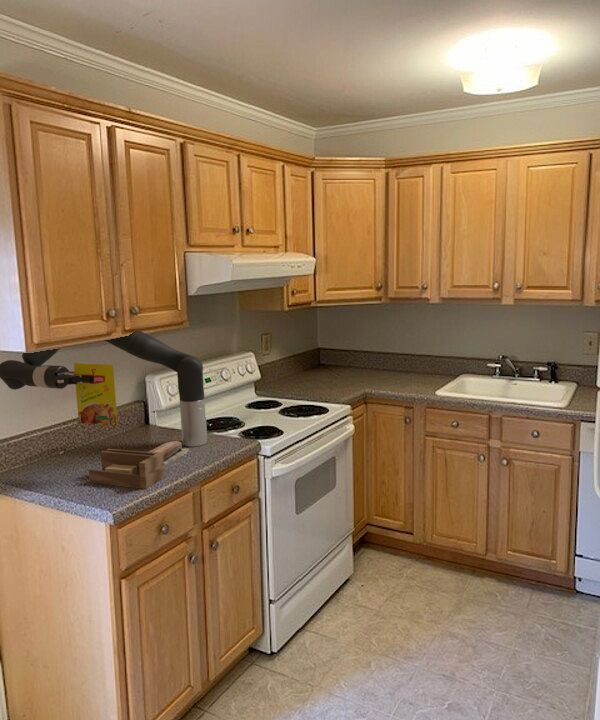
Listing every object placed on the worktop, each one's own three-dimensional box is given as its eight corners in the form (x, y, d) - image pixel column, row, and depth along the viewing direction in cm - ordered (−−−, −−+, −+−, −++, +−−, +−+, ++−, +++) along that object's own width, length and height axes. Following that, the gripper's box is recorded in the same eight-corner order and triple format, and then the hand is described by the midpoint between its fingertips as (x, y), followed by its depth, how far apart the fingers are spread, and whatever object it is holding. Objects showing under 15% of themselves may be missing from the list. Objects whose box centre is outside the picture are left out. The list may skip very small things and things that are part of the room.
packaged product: (163, 455, 198) (137, 453, 201) (164, 469, 199) (138, 467, 202) (188, 439, 215) (164, 438, 218) (189, 452, 216) (165, 451, 219)
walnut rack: (109, 471, 196) (107, 448, 195) (164, 477, 189) (162, 453, 188) (89, 482, 187) (87, 458, 185) (146, 488, 180) (144, 463, 178)
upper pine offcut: (113, 471, 190) (112, 464, 190) (137, 473, 188) (137, 466, 187) (105, 475, 186) (105, 468, 186) (130, 477, 184) (130, 470, 184)
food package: (77, 423, 194) (72, 363, 191) (79, 422, 195) (74, 362, 192) (116, 426, 189) (112, 364, 186) (118, 425, 190) (114, 364, 187)
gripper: (34, 369, 189) (79, 371, 183) (64, 362, 201) (107, 364, 196) (37, 392, 190) (81, 394, 184) (66, 383, 203) (108, 386, 197)
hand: (94, 378), depth 190 cm, fingers closed on food package, 1 cm apart
